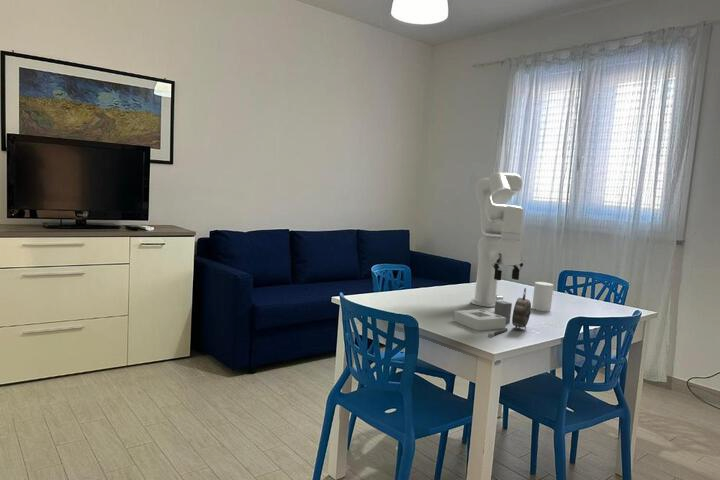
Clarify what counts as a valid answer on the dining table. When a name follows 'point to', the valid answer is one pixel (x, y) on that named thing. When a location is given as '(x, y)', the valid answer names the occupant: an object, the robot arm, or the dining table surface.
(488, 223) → the robot arm
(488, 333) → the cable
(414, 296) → the dining table surface
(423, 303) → the dining table surface
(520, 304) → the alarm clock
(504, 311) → the charger
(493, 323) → the plate
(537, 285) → the cup
